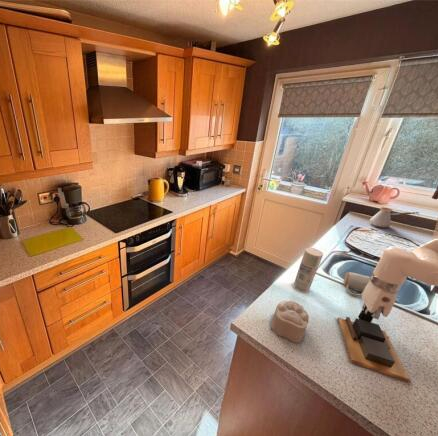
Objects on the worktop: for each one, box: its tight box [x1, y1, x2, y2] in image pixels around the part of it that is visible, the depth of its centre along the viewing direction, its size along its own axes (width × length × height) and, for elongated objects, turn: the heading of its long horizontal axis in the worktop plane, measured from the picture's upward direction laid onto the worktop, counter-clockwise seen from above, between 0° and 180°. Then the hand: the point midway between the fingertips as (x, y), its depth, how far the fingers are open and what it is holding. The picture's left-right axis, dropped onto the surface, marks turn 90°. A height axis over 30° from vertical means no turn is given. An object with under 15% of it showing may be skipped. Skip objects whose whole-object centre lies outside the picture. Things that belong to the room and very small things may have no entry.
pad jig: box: [337, 316, 411, 382], centre depth 80 cm, size 14×19×4 cm
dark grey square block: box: [353, 317, 386, 342], centre depth 82 cm, size 6×6×4 cm
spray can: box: [293, 247, 324, 293], centre depth 104 cm, size 6×6×20 cm
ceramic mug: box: [342, 271, 371, 297], centre depth 105 cm, size 11×8×8 cm
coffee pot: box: [369, 206, 420, 229], centre depth 161 cm, size 21×12×15 cm, turn 43°
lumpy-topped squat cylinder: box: [271, 300, 310, 343], centre depth 87 cm, size 10×13×9 cm
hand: (363, 320), depth 86 cm, fingers closed
